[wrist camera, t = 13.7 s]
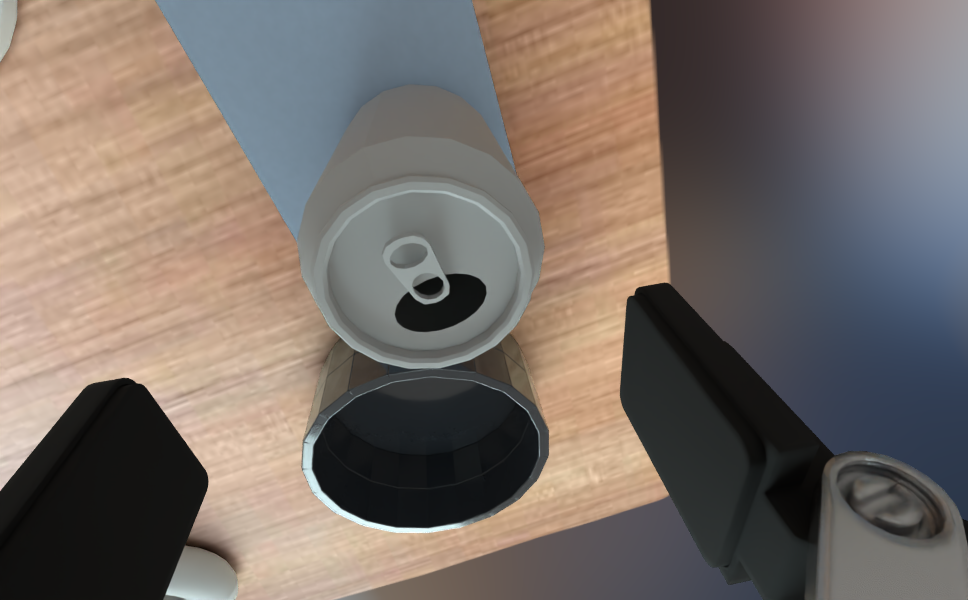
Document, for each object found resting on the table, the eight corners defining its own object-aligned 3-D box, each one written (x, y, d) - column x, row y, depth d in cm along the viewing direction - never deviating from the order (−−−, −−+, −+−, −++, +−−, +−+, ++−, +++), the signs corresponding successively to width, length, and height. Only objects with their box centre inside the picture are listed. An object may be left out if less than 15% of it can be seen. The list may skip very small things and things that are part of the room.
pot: (315, 451, 33) (297, 531, 28) (327, 288, 26) (307, 355, 21) (499, 461, 36) (513, 534, 31) (553, 318, 29) (582, 382, 24)
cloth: (530, 231, 26) (531, 233, 26) (330, 296, 27) (330, 298, 26) (414, -220, 16) (414, -224, 16) (99, -100, 17) (95, -102, 16)
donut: (81, 554, 36) (160, 612, 41) (51, 602, 33) (141, 657, 39) (201, 520, 36) (266, 583, 41) (181, 565, 33) (254, 626, 38)
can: (389, 254, 25) (373, 420, 15) (311, 123, 21) (218, 230, 11) (517, 199, 24) (587, 336, 14) (460, 51, 20) (504, 98, 10)
